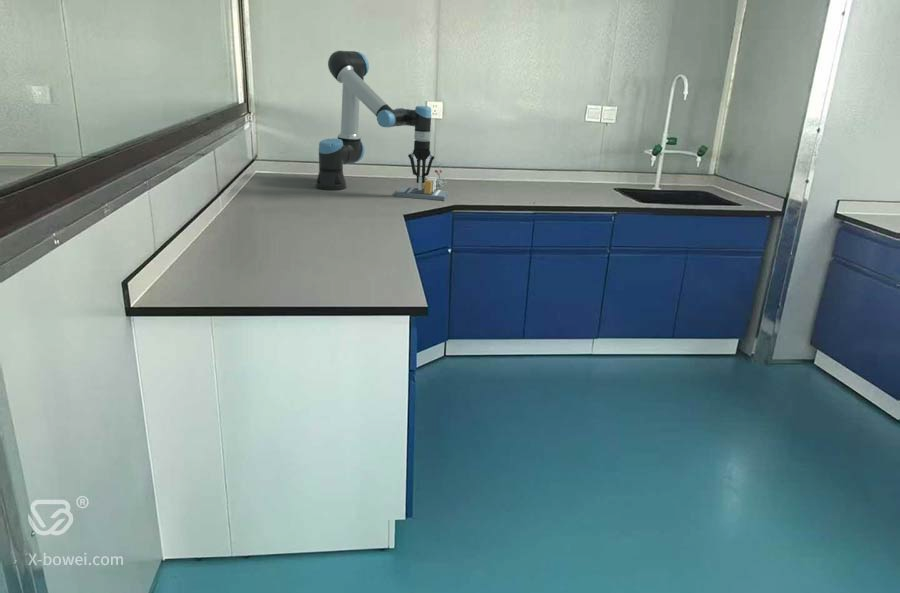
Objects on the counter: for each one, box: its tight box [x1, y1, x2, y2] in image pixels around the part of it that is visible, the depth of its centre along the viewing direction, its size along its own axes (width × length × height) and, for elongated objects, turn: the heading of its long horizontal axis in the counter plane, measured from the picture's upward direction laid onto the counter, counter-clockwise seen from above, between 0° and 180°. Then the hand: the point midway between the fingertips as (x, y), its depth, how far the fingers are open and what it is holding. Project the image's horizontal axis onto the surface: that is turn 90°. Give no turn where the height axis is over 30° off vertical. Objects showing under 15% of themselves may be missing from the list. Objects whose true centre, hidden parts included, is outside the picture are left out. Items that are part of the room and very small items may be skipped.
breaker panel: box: [395, 176, 449, 202], centre depth 311 cm, size 24×14×8 cm, turn 82°
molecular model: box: [425, 166, 447, 188], centre depth 328 cm, size 19×10×10 cm, turn 154°
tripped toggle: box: [423, 180, 432, 194], centre depth 306 cm, size 3×3×6 cm
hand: (420, 189), depth 307 cm, fingers closed
